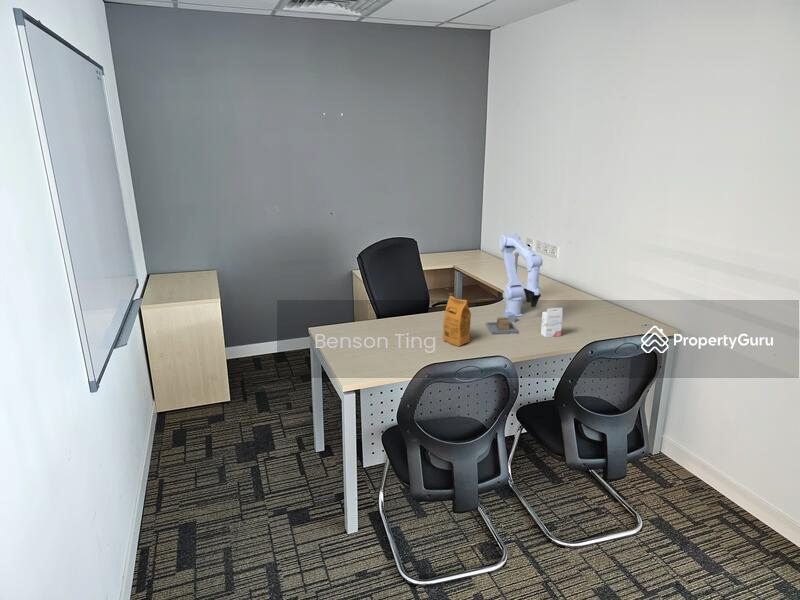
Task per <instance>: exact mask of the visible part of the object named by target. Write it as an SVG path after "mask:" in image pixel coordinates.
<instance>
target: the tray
mask: <svg viewBox="0 0 800 600" xmlns="http://www.w3.org/2000/svg"><path fill="white" fill-rule="evenodd" d="M486 326H487V327H486ZM485 327H486V328H487V329H488V331H489V333H490V334H491V335H511V334H510V333H517V334H518V333H519V331H518V328H516V326H514V324H513V323H511V322H509V330H499V329H498V328H497V321H495V322H493V321H490V322H485Z"/></svg>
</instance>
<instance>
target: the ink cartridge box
mask: <svg viewBox="0 0 800 600" xmlns="http://www.w3.org/2000/svg"><path fill="white" fill-rule="evenodd" d="M541 313H542V314H541V316H542V317H541V327H540V328H541V330H540V334H541V335H542V336H543V337H544V338H551V337H553V338H554V336H555V337H562V325H563V316H564V315H563V307H551V308H550V307H549V308H547V309H546V311H542V312H541Z"/></svg>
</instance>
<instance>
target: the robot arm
mask: <svg viewBox="0 0 800 600" xmlns="http://www.w3.org/2000/svg"><path fill="white" fill-rule="evenodd" d="M498 245H499V248H500V251H501V252H502V257H503V261H504V262H503V263H504V267H505V268H504V269H505V273H506V276H507V277H506V278H507V281H508V282H507V283H506V284H505V285H504V292H505V296H506V298H507V300H506V303H505V309H504V310H503V312H504V311H505V312H504V313H506V312H512V313H514V314H515V317H524V315H523V314H522V304H521V299H523V297H524V296H525V295H526V297H525V301H526V303H530V307H531V308H536V307H537V304H538V301H539V299H540V298H541V296H542V294H541V293H540V291H539V290H541V287H540V286H539V283H540V282H539V281H540V271H541V267H542V266H543V264H544V263H543V261H544V259H543V258H542V255H540V254H536V253H534V251H533V250H532V249H531V247H528V246H527V247H526V246H525V244H524V243H523V242H522V241H521V236H520V235H519V234H518V233H509V234H501V235H500V237H499V239H498ZM515 250H518V251H519V256H520V257H521V258H523V260H524V261H525V262H526V263H525V264H526V270H527V277H526V278H527V279H526V283H525V286H524V284H523V282H521V281H520V280H519V279H518V272H517V273H516V268H515V258H514V254H513V252H514V251H515Z"/></svg>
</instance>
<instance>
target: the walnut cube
mask: <svg viewBox="0 0 800 600" xmlns="http://www.w3.org/2000/svg"><path fill="white" fill-rule="evenodd" d="M496 322H497V328H498V329H499V330H509V319H508V318H507V317H503V316H502V317H501V316H500V317H497V319H496Z"/></svg>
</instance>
